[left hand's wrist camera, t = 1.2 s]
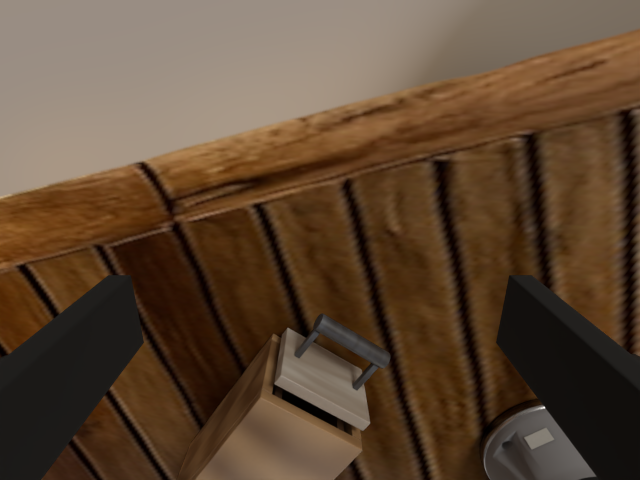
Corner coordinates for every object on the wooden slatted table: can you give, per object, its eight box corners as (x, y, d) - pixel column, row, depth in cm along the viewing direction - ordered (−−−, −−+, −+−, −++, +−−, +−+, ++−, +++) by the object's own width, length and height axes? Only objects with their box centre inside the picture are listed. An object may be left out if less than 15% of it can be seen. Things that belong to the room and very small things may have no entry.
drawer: (315, 291, 37) (314, 333, 30) (390, 336, 39) (406, 386, 32) (205, 434, 44) (184, 496, 37) (274, 467, 46) (266, 532, 39)
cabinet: (273, 333, 40) (260, 397, 31) (353, 378, 42) (362, 450, 34) (190, 443, 46) (159, 524, 37) (265, 478, 48) (253, 562, 39)
